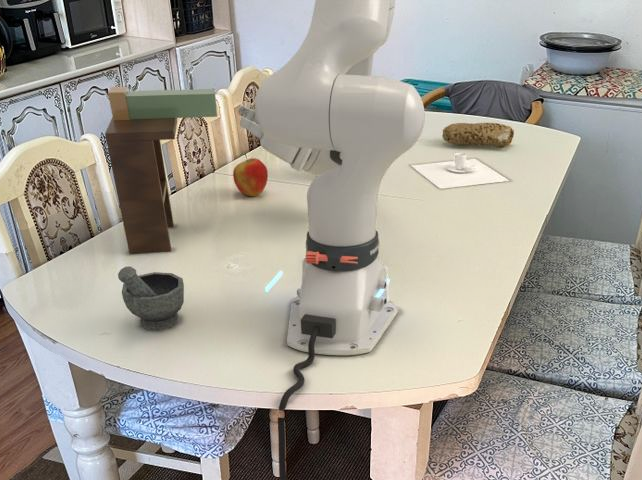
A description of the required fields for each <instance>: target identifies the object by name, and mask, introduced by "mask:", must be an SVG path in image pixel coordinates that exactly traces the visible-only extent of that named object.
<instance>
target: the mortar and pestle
mask: <svg viewBox="0 0 642 480" xmlns="http://www.w3.org/2000/svg"><path fill="white" fill-rule="evenodd" d="M117 278H118V280H119V281H120V282H122V283H123V284H122V288H121V295H122V300H123V303H124V305H125V307H126V309H128V310H129V312H130V313H131V314H133V315H134V316H135V317H137V318H139V319H140V321H139V324H140V327H141V328H143V329H144V330H146V331H151V332H160V331H164V330H168V329H172V328H173V327H175V326H176V325H178V323H179V315H178V312H180V311H181V309H182V308H183V304H184V300H185V299H184V296H185V284H184V278H182V277H181V276H179V275H176V274H174V273H173V272H158V271H153V272H149V273H144V274H137V270H136V269H135V268H134V267H133V266H129V265H128V266H124V267H122V268H121V269H120V270H119V272H118V273H117Z"/></svg>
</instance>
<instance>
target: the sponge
mask: <svg viewBox="0 0 642 480" xmlns="http://www.w3.org/2000/svg"><path fill="white" fill-rule="evenodd" d="M514 136H515V130H514V129H513V127H511V126H509V125H506V124H502V123H498V122H476V123H469V122H468V123H466V122H455V123H450V124H449V125H447V126H445V127H444V128H443V129H442V136H441V137H442V140H444V141H445V142H447V143H448V144H450V145H455V146H461V147H475V146H476V147H477V146H490V147H495V148H499V149H505V148H506V147H508V146H510V145H511V143H512V141H513V139H514Z"/></svg>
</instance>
